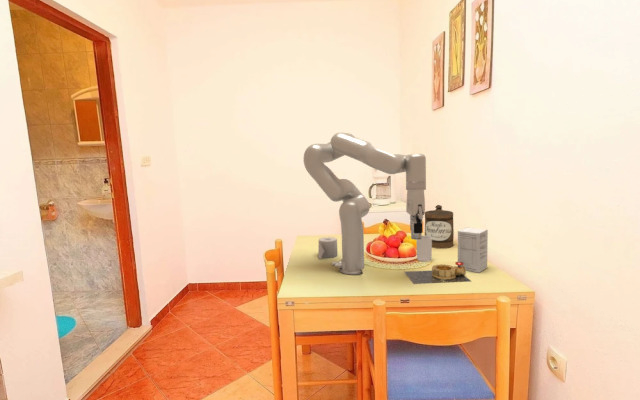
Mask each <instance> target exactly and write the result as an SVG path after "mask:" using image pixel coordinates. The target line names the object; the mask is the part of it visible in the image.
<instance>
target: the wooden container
mask: <svg viewBox="0 0 640 400" xmlns="http://www.w3.org/2000/svg"><path fill="white" fill-rule="evenodd" d="M454 233H455V232H454V212H453V211H452V210H443V206H442V204H441V205H440V204H436V206H435V209H434V210H425V214H424V236H431V237H432V249H449V248H452V247H453V246H454V237H455V236H454Z"/></svg>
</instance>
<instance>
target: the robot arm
mask: <svg viewBox="0 0 640 400" xmlns="http://www.w3.org/2000/svg"><path fill="white" fill-rule="evenodd" d="M344 156H345V157H349V158H351V159H354V160H356V161H359V162H360V163H362V164H365V165H366V166H368V167H371V168H372V169H374V170H377V171H380V172H383V173H385V174H387V175H395V174H402V173H405V191H407V192H406V205H405V206H406V207H405V208H406V209H405V211H406V213H407V215H409V217H410V216H411V215H412V216H414V221H415V223H414V233H415V234H416V233H422V234H423V218H424V216H425V212H426V201H425V200H426V198H425V191H426V190H427V162H426V161H427V157H426V155H425V154H423V153H417V154H416V153H412V154H400V153H399V154H392V153H389V152H386V151H384V150H381V149H378V148H377V147H375V146H373V145H372V143H370V142H369V141H367V140H364V139H360V138H358V137H356V136H355V135H353V134H352V133H348V132H337V133H334V134H333V136H332V137H331V138H330V141H329V142H328V143H313V144H310V145H309V146H307V148H306V149H305V151H304V153H303V164H304V168H305V170H306V172H307V173H308V174H309V176H310V177H311V178H312V179H313V180H314V181H315V183H316V184H317V185H318V186H319V188H320V189H321V190H322V191H323V193H324V194H326V196H327V197H328V198H329V199H330V201H332V202H342V203H341V204H340V207H339V209H338V216H339V219H340V229H341V255H342V256H341V257H342V258H341V259H340V260H339V261H331V266H332V267H335V268H338V271H339V273H342V274H346V275H351V276H353V275H362V274H364V273H363V269H365V241H364V240H365V237H364V234H365V233H364V224H363V220H362V218H364V217H365V216H367V215H368V214H369V213H370V208H371V206H370V202H369V201H368V199H367V198H366V196H365V195H364V194H363V193H362V192H361V191H360V189H359V188H358V187H357V186H356V184H354V183H353V182H352V181H350V180H349V179H346V178H338V176H337V175H336V174H335V172H333V171H332V169H331V168H329V167H328V166H327V165H326V164H325V163H330V162H333V161H335V160H338V159H340V158H342V157H344ZM416 217H417V218H416ZM409 220H410V223H409V225H410V231H411V219H410V218H409Z"/></svg>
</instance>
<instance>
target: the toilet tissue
mask: <svg viewBox="0 0 640 400" xmlns="http://www.w3.org/2000/svg"><path fill="white" fill-rule="evenodd" d="M317 250H318V251H317V255H318V260H321V259H326V260H327V259H334V258H338V254H339V253H338V238H336V237H333V236H332V237H331V236H326V237H325V236H324V237H321V238H320V237H319V239H318V249H317Z"/></svg>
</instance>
